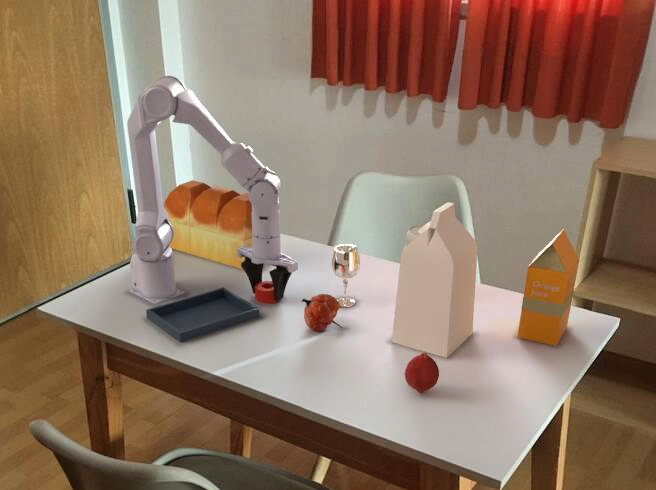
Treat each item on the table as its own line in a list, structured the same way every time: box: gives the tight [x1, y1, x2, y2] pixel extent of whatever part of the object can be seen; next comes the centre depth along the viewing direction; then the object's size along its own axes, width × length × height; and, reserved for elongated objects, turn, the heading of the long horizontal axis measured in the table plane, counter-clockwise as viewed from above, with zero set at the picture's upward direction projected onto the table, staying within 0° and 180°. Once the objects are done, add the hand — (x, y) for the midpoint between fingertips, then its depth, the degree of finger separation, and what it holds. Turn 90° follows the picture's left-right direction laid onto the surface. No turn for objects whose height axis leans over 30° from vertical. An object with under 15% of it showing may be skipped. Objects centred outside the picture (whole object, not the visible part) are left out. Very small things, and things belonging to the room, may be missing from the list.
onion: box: [404, 351, 440, 394], centre depth 140 cm, size 6×6×8 cm
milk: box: [391, 201, 478, 359], centre depth 153 cm, size 12×12×26 cm
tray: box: [145, 286, 261, 343], centre depth 166 cm, size 13×18×2 cm
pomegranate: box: [300, 293, 344, 333], centre depth 161 cm, size 7×7×10 cm
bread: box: [163, 179, 253, 270], centre depth 194 cm, size 25×12×15 cm, turn 55°
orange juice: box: [517, 228, 580, 347], centre depth 157 cm, size 8×9×20 cm
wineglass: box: [331, 244, 361, 308], centre depth 170 cm, size 6×6×12 cm
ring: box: [254, 280, 282, 305], centre depth 173 cm, size 5×5×3 cm
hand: (268, 295), depth 174 cm, fingers closed on ring, 5 cm apart
